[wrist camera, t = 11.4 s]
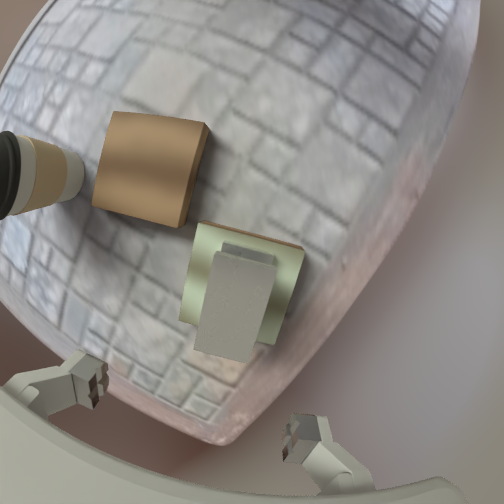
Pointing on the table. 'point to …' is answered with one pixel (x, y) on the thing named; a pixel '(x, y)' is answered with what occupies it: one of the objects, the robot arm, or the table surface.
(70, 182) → the coffee cup
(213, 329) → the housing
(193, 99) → the table surface
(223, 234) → the stand
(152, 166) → the stand
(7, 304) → the table surface
